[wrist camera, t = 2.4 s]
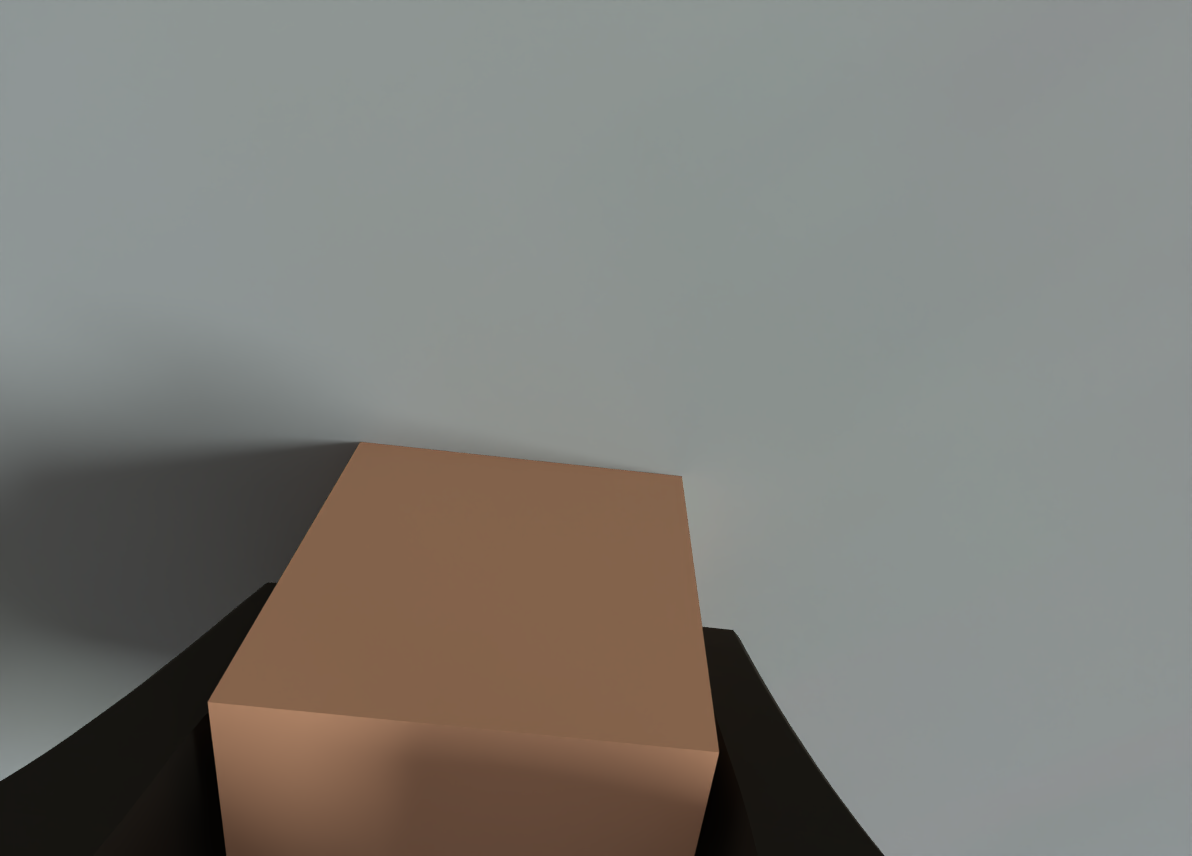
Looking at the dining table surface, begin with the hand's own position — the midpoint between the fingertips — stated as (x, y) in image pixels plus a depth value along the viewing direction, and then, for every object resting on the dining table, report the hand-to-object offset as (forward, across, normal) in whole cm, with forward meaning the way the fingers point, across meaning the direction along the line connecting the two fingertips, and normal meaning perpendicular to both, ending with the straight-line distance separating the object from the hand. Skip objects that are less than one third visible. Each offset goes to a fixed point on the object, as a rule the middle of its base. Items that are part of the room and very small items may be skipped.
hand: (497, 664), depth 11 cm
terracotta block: (+2, 0, 0) cm, 2 cm away
